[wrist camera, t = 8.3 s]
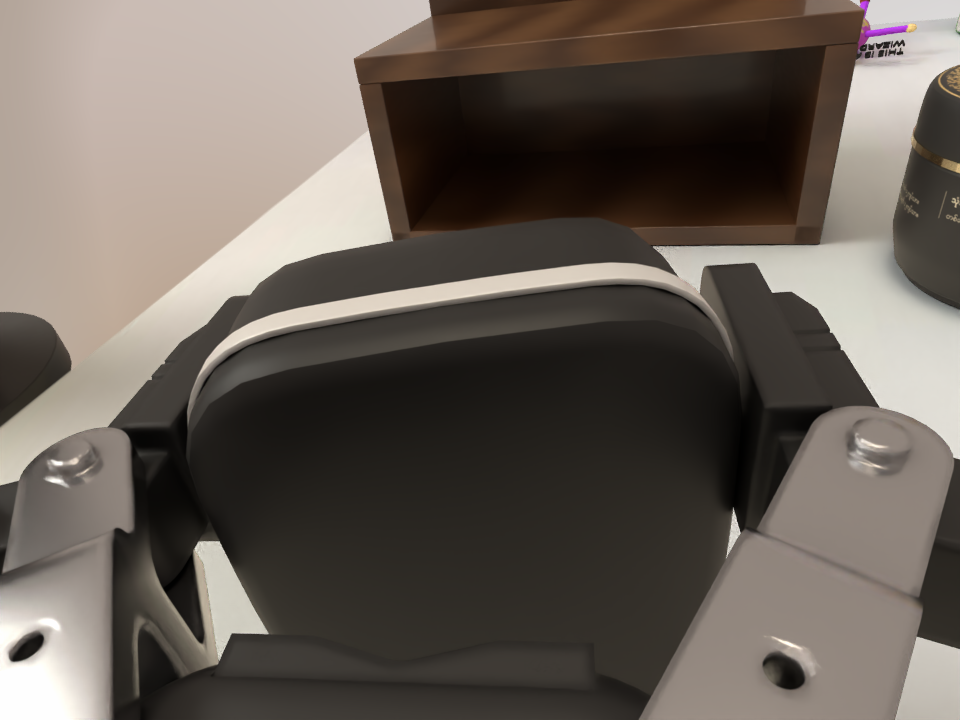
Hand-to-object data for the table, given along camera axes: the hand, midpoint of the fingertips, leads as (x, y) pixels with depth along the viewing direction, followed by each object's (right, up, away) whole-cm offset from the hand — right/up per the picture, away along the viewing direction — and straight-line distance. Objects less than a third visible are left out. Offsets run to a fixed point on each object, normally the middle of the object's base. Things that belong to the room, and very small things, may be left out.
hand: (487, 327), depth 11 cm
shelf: (+7, +9, +28) cm, 30 cm away
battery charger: (+1, -9, +4) cm, 9 cm away
